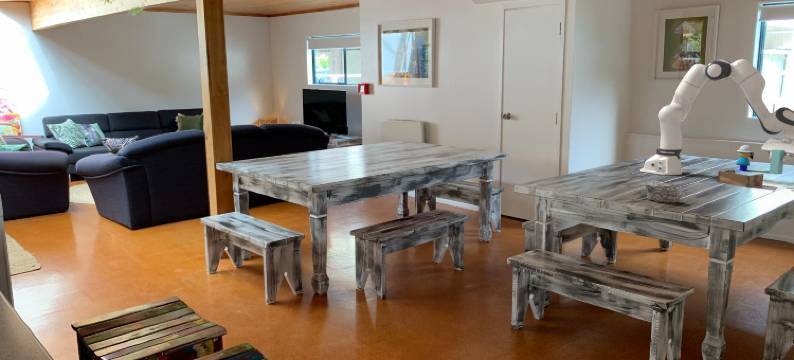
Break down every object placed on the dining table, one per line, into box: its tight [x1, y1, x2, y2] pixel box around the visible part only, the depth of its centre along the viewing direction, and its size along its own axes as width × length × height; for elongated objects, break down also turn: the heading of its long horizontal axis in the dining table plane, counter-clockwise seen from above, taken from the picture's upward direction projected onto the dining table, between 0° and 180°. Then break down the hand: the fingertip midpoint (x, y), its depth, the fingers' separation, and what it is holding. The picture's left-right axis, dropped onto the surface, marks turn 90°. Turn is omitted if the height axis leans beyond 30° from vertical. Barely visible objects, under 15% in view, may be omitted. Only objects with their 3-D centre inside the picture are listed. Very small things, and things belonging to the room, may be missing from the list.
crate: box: [717, 168, 764, 188], centre depth 321 cm, size 12×16×6 cm
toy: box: [735, 144, 755, 172], centre depth 364 cm, size 8×9×15 cm
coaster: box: [755, 184, 778, 193], centre depth 311 cm, size 8×9×1 cm
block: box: [769, 149, 785, 175], centre depth 311 cm, size 4×4×12 cm
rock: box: [644, 181, 682, 204], centre depth 284 cm, size 16×8×10 cm, turn 49°
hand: (776, 160), depth 311 cm, fingers closed on block, 4 cm apart
